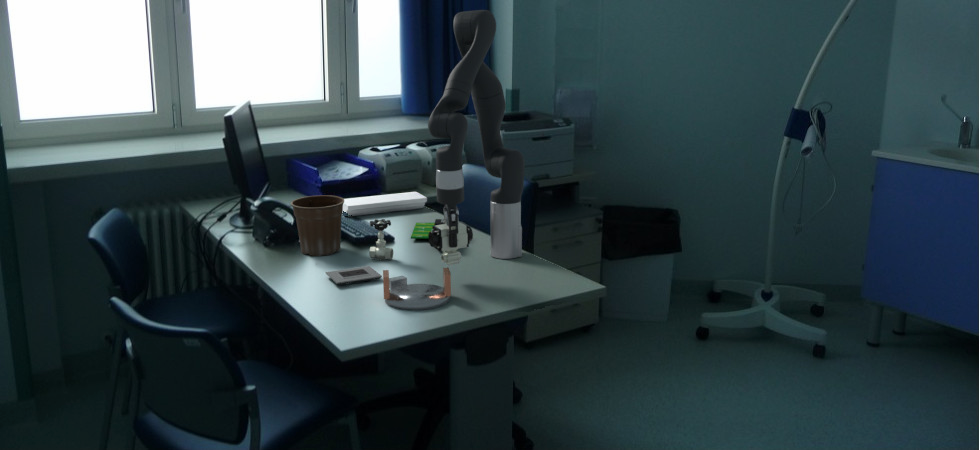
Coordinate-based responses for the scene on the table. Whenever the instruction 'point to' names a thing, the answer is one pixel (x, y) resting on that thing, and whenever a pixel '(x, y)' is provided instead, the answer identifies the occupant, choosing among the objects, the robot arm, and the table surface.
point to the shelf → (383, 203)
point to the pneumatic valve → (441, 241)
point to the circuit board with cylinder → (424, 229)
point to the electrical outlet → (353, 275)
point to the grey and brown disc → (417, 294)
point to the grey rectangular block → (397, 281)
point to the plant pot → (319, 223)
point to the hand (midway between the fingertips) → (452, 243)
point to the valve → (380, 241)
